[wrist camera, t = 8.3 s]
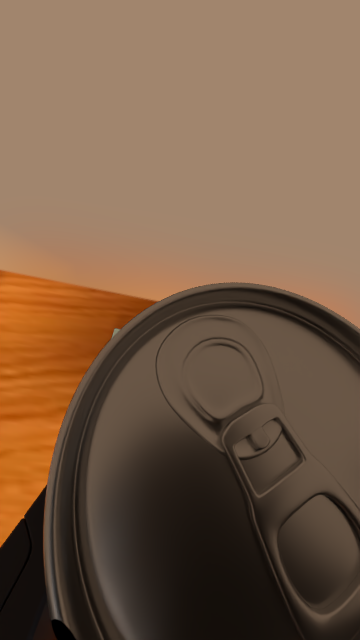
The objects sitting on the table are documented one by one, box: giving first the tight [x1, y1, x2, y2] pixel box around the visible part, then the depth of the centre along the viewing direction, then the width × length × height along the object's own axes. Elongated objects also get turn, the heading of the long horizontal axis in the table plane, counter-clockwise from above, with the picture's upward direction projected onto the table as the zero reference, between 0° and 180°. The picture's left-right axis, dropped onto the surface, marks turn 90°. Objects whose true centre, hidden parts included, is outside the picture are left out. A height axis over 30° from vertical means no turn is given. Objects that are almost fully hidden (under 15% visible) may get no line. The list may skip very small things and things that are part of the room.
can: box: [43, 283, 360, 640], centre depth 8 cm, size 6×6×12 cm
